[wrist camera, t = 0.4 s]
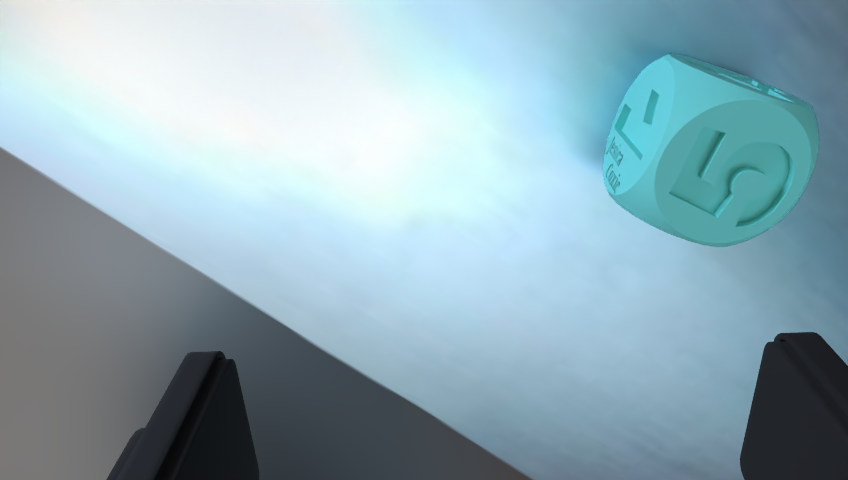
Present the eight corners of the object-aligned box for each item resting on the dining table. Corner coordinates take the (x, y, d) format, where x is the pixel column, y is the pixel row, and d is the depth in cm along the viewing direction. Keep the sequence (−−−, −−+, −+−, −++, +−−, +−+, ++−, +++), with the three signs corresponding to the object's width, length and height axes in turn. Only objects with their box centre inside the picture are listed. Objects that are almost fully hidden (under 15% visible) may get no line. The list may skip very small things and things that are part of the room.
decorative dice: (646, 42, 37) (696, 73, 30) (772, 83, 38) (849, 123, 31) (590, 168, 41) (623, 223, 34) (706, 203, 42) (762, 263, 35)
